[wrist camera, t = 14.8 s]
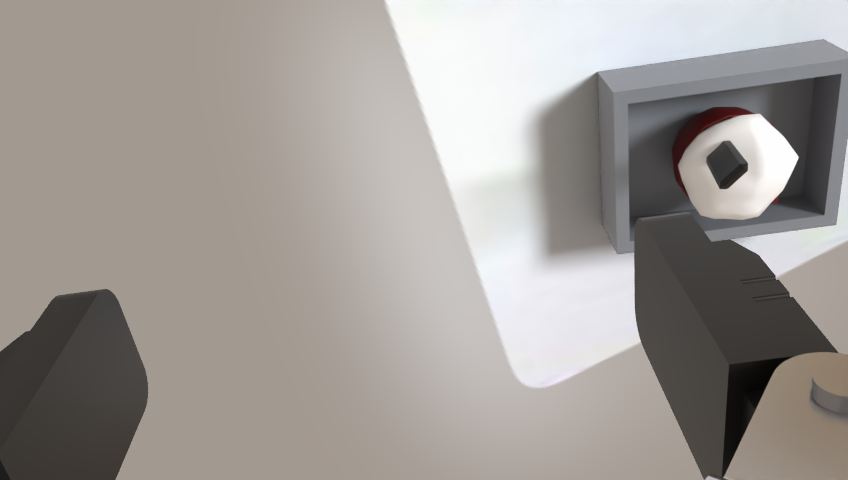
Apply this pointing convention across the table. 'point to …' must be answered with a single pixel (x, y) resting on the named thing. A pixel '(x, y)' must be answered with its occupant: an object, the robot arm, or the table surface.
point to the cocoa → (731, 163)
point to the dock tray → (723, 87)
